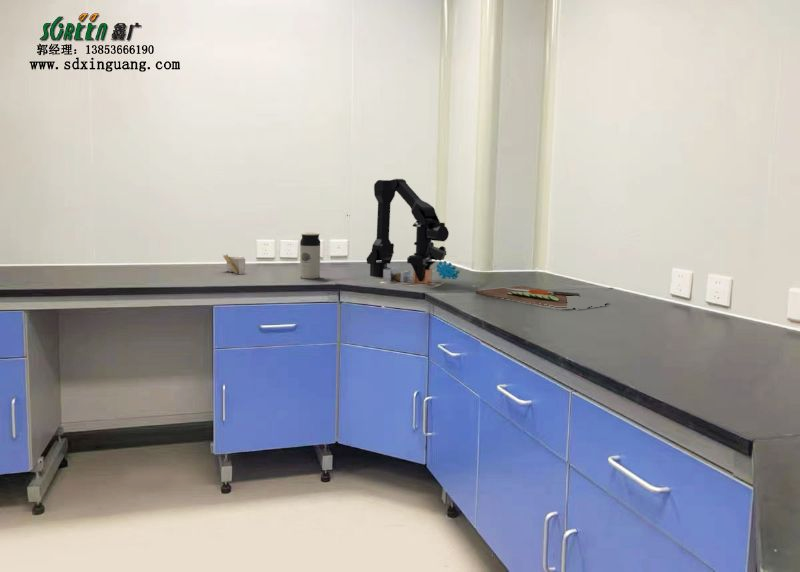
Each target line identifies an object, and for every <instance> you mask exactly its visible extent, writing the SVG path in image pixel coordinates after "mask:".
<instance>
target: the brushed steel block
mask: <svg viewBox="0 0 800 572" xmlns="http://www.w3.org/2000/svg"><path fill="white" fill-rule="evenodd" d="M399 271H400V269H399V267H393V266H391V267H388V268H387V269H383V277H382V282H384V283H383V284H385V283H389V282H395V279H394V276H395V274H396V273H400V272H399Z"/></svg>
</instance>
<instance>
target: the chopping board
mask: <svg viewBox="0 0 800 572" xmlns="http://www.w3.org/2000/svg"><path fill="white" fill-rule="evenodd" d="M475 295H480V296H483V297H484V296H485V297H489V296H491V297H490V298H494V297H497V298H496V299H499V298H504V299H510V300H515V301H520V302H526V303H531V304H537V305H542V306H549V305H553V306H550V307H554V306H567V303H568V302H567V297H566V296H581V294H580V293H577V292H576V293H575V292H565V291H555V290H554V291H553V290H549V289H544V288H536V287H532V286H525V285H524V286H523V285H522V286H521V285H520V286H519V285H518V286H502V287H501V286H500V287H493V288H482V289H478V290H476V291H475ZM534 302H535V303H534ZM539 303H541V304H539ZM544 304H547V305H544ZM555 308H567V307H555Z"/></svg>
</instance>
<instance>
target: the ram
mask: <svg viewBox="0 0 800 572" xmlns="http://www.w3.org/2000/svg"><path fill="white" fill-rule="evenodd" d="M400 273H401V281H400V282H402V283H405V282H408V281H409V282H413V283H414V284H416V283H419V284H426V285H428V284H430V283H432V281H433V268H430V269H424V273H423V278H422V281H421V282H420V281H419V280H418V278H417V275H416V273H415V271H414V270H413V274H412V275H413V276H411V270H404V271H401V272H400Z"/></svg>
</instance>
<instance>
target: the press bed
mask: <svg viewBox="0 0 800 572" xmlns="http://www.w3.org/2000/svg"><path fill="white" fill-rule="evenodd" d="M379 284H388V285H396V286H397V285H398V286H411V287H423V288H432V289H434V288H437V287H439V286H441V285H444V282H443V281H434V280H432V283H430V284H428V285H426V284H419V283H416V284H414V283H413V282H409V281H408V282H405V283H402V282H397V281H395V282H389V283H384V282H383V281H381V282H379Z"/></svg>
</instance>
